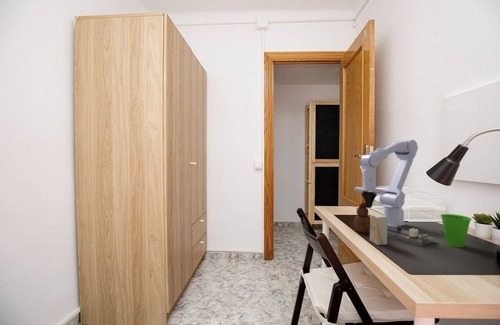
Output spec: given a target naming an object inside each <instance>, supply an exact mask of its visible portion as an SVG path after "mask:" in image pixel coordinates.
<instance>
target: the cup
mask: <svg viewBox="0 0 500 325" xmlns="http://www.w3.org/2000/svg"><path fill="white" fill-rule="evenodd" d="M440 217H441V221H442V226H443V232H444V238H445V242H446V244H447V245H448V246H450V247H456V248H464V246H465V244H466V241H467V235H468V231H469V227H470V223H471V221H472V218H471V217H468V216H466V215H461V214H455V213H454V214H453V213H452V214H451V213H443V214H440Z"/></svg>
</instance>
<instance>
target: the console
mask: <svg viewBox="0 0 500 325" xmlns="http://www.w3.org/2000/svg"><path fill="white" fill-rule="evenodd" d="M387 238H391V239H395V240H397V241H398V240H399V241H402V242H405V243H408V244H411V245H414V246H418V247H424V246H427V245H430V244H432V243H435V241H436V239H435V237H431V236H429V234H428V233H424V234H420V233H418V236H417V237H411V236H409V230H404V229H402V225H401V226H398V225H397V226H396V227H392V226H388V225H387Z"/></svg>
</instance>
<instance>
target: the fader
mask: <svg viewBox="0 0 500 325" xmlns="http://www.w3.org/2000/svg"><path fill="white" fill-rule="evenodd" d="M408 231H409V236H411V237H417V236H418V234H419V229H418V228H409V229H408Z"/></svg>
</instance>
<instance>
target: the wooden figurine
mask: <svg viewBox="0 0 500 325" xmlns="http://www.w3.org/2000/svg"><path fill="white" fill-rule="evenodd" d="M358 205H359V206H358V207H357V208H356V214H357V215H355V217H354V221H353V222H354V226H355V230H356V231H357V232H359V233H363V234H366V233H369V232H370V215H369V208H367V207H366V199H365V201H364V199H363V200H362V202H361V203H360V204H358ZM368 215H369V216H368Z"/></svg>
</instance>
